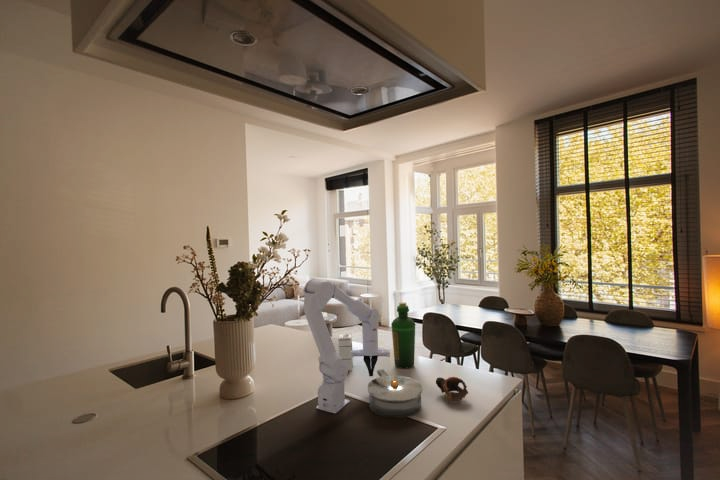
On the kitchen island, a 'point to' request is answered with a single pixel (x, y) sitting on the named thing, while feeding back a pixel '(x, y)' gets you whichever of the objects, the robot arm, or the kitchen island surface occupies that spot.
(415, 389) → the cooker lid
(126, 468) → the kitchen island surface
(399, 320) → the bottle
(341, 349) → the syrup box
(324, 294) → the robot arm
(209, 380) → the kitchen island surface
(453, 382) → the pottery mug
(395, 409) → the cooker pot
